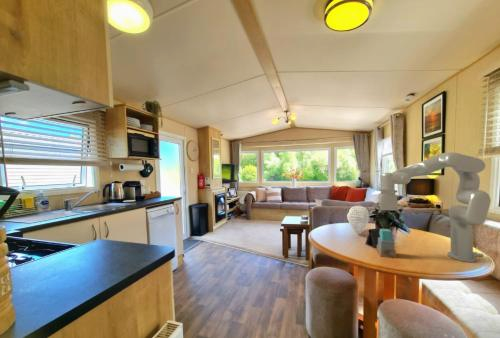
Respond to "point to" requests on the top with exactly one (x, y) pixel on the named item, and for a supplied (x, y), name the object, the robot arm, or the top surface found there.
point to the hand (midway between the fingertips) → (388, 219)
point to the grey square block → (386, 252)
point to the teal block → (386, 234)
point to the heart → (358, 231)
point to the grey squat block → (385, 244)
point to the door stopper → (372, 238)
